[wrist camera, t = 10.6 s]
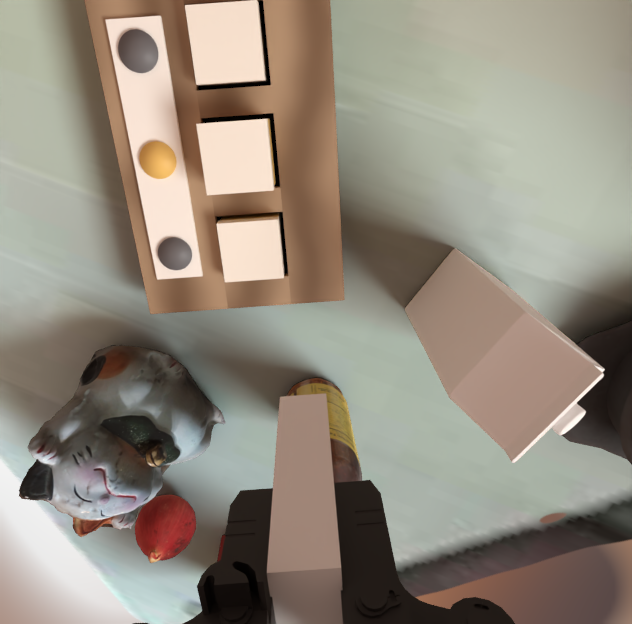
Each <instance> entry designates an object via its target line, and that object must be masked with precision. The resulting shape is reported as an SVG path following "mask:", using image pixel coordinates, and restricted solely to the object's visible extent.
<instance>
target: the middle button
mask: <svg viewBox="0 0 632 624" xmlns="http://www.w3.org/2000/svg"><path fill="white" fill-rule="evenodd" d="M196 126H197V133H198V139H199V146H200V153H201V159H202V166H203V173H204V180H205V186H206V193H207V195H219V194H233V193H247V192H261V191H274V185H275V182H276V180H275V169H274V159H273V148H272V138H271V127H270V118H269V119H254V120H240V121H226V122H212V123H199V124H196Z"/></svg>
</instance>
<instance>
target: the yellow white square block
mask: <svg viewBox="0 0 632 624" xmlns="http://www.w3.org/2000/svg"><path fill="white" fill-rule="evenodd" d="M185 10H186V17H187V24H188V31H189V38H190V45H191V52H192V59H193V66H194V73H195V80H196V85H204V86H218V85H232V84H246V83H260V82H268V79H267V68H266V58H265V47H264V37H263V26H262V15H261V10H260V8H259V3H258V1H257V0H249V1H235V2H222V3H208V4H194V5H185Z"/></svg>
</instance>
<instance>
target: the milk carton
mask: <svg viewBox="0 0 632 624" xmlns="http://www.w3.org/2000/svg"><path fill="white" fill-rule="evenodd" d="M405 312H406V314H407V316H408V318H409V320H410V322H411V323H412V325H413V327H414V329H415V331H416V333H417V335H418V337H419V339H420V341H421V343H422V345H423V347H424V349H425V351H426V353H427V355H428V357H429V359H430V361H431V363H432V365H433V366H434V368H435V370H436V372H437V374H438V376H439V378H440V380H441V382H442V384H443V386H444V388H445V390H446V392H447V394H448V396H449V398H450V399H451V400H452V401H453V402H454V403H456V404H457V405H458V406H459V407H460V408H461V409H462V410H463V411H464V412H465V413H466V414H467V415H468V416H469V417H470V418H471V419H472V420H473V421H474V422H475V423H477V424H478V425H479V426H480V427H481V428H482V429H483V430H484V431H485V432H486V433H487V434H488V435H489V436H490V437H491V438H492V439H493V440H494V441H495V442H496V443H498V444H499V445H500V446H501V447H502V448H503V449H504V450H505V452H506V453H507V455H508V457H509V458H510V460H511V461H512V462H513V463H515V462H516V461H517V460H518V459H519V458H520V457H521V456H522V455H523V454H524V453H525V452H527V451H528V450H529V449H530V448H531V447H532V446H533V445H534V444H535V443H536V442H537V441H538V440H539V439H540V438H541V437H542V436H543V435H544V434H545V433H546V432H547V431H548V430H549V429H550V428H553V429H554V431H555V432H556V433H557V434H558V435H563V434H565V433H566V432H568V431H569V430H570V429H571V428H573V427H574V426H575V425H576V424H577V423H578V422H579V421H580V420H581V419H582V418H583V417H584V415H585V413H586V411H585V410H584V409H583V408H582V407H581V406H579V405H578V404H577V402H578V401H579V400H580V399H581V398H582V397H583V396H584V395H585V394H586V393H587V392H588V391H589V390H590V389H591V388H592V387H593V386H594V385H595V384H596V383H597V382H598V381H600V380H601V379H602V378H603V376H604V374H603V373H602V372H603V371H604V370H605V369H604V368H603V367H602V366H600V365H599V364H598V363H597V362H596V361H595V360H593V359H592V358H591V357H590V356H589V355H588V354H587V353H585V352H584V351H583V350H582V349H581V348H580V347H578V346H577V345H576V344H575V343H574V342H573V341H571V340H570V339H569V338H568V337H567V336H566V335H564V334H563V333H562V332H561V331H560V330H559V329H557V328H556V327H555V326H554V325H553V324H552V323H550V322H549V321H548V320H547V319H546V318H545V317H544V316H542V315H541V314H540V313H539V312H538V311H537V310H535V309H534V308H533V307H532V306H531V305H530V304H528V303H527V302H526V301H525V300H524V299H523V298H521V297H520V296H519V295H518V294H517V293H516V292H514V291H513V290H512V289H511V288H509V287H508V286H506V285H505V284H504V283H502V282H501V281H500V280H498V279H497V278H496V277H494V276H493V275H491V274H490V273H489V272H487V271H486V270H485V269H483V268H482V267H481V266H479V265H478V264H477V263H475V262H474V261H472V260H471V259H470V258H468V257H467V256H466V255H464V254H463V253H462V252H460V251H459V250H458V249H456V248H455V249H453V250H452V251H451V252H450V254H449V255H448V256H447V257H446V259H445V260H444V261H443V262H442V263H441V265H440V266H439V267H438V268H437V270H436V271H435V272H434V273H433V274H432V276H431V277H430V278H429V279H428V281H427V282H426V283H425V284H424V285H423V287H422V288H421V289H420V290H419V291H418V293H417V294H416V295H415V296H414V298H413V299H412V300H411V301H410V303H409V304H408V305H407V306H406V308H405Z"/></svg>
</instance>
